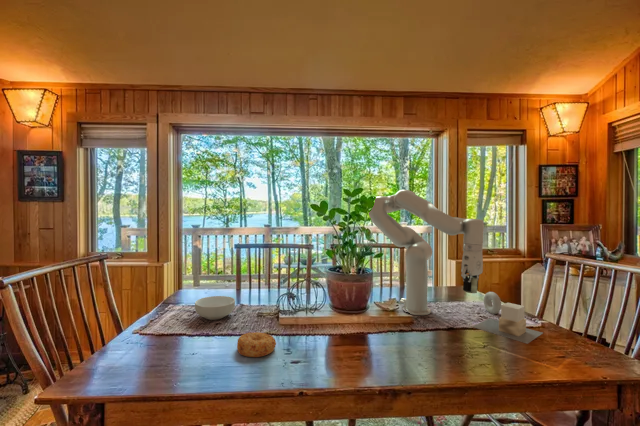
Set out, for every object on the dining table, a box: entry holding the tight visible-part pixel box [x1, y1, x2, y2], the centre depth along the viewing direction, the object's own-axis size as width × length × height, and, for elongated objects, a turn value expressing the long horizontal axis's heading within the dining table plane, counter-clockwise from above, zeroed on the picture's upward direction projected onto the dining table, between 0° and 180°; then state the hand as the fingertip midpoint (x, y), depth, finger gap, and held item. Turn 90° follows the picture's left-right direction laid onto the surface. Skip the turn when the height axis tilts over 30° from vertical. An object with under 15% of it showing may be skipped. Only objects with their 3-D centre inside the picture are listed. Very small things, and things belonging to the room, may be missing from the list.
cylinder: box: [464, 276, 479, 294], centre depth 138 cm, size 5×5×6 cm
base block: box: [498, 316, 527, 336], centre depth 125 cm, size 7×7×5 cm
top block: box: [500, 302, 525, 322], centre depth 125 cm, size 6×6×5 cm
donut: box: [483, 291, 502, 315], centre depth 148 cm, size 10×4×10 cm, turn 7°
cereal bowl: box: [194, 295, 236, 321], centre depth 141 cm, size 17×17×7 cm
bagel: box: [236, 331, 277, 358], centre depth 109 cm, size 13×14×5 cm
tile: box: [471, 318, 544, 345], centre depth 127 cm, size 20×16×1 cm
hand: (470, 289), depth 138 cm, fingers closed on cylinder, 5 cm apart
